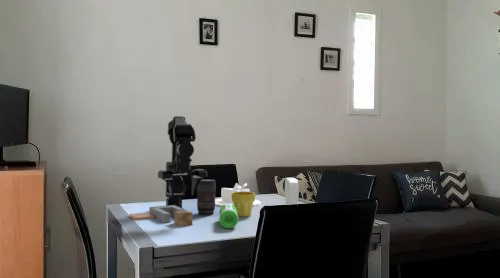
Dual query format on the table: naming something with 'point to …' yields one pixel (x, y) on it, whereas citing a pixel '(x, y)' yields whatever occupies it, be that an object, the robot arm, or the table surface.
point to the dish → (227, 195)
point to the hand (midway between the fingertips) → (182, 195)
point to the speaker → (228, 215)
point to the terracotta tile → (141, 216)
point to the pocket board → (164, 212)
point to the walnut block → (183, 218)
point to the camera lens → (206, 197)
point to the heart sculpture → (291, 191)
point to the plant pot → (243, 202)
